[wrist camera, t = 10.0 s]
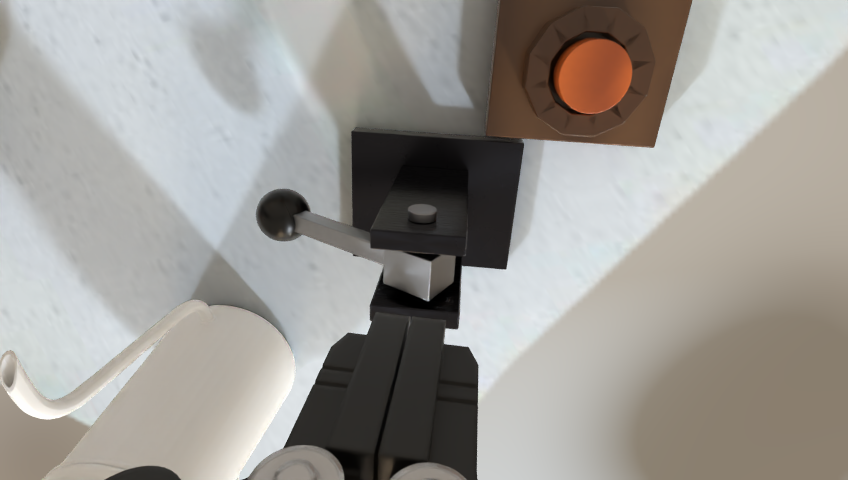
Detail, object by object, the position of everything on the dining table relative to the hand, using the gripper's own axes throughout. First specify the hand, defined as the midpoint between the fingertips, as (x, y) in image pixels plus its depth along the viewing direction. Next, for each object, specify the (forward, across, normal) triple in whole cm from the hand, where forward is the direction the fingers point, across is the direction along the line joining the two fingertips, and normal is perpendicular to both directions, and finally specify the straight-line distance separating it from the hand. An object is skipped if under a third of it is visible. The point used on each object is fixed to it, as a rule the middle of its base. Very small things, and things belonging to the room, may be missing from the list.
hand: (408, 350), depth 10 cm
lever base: (+23, +1, +5) cm, 23 cm away
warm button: (+19, -7, -4) cm, 21 cm away
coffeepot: (+23, +17, +20) cm, 35 cm away
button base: (+23, -7, -4) cm, 24 cm away
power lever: (+17, +5, +5) cm, 18 cm away
